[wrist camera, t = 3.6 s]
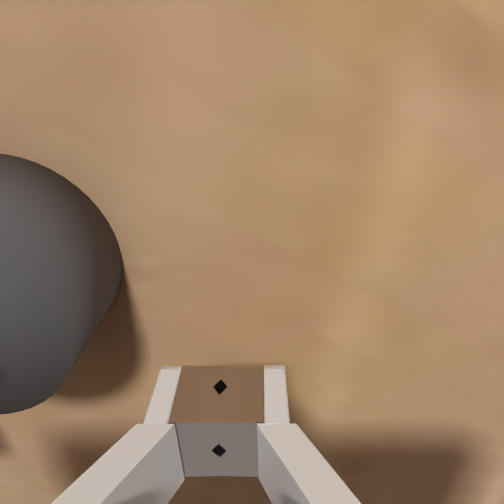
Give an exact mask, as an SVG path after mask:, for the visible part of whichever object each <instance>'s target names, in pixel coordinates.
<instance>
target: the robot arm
mask: <svg viewBox="0 0 504 504" xmlns="http://www.w3.org/2000/svg"><path fill="white" fill-rule="evenodd" d="M263 373H264V379H263ZM198 476H242V477H259V481H260V482H261V484H262V486H263V488H264V490H265V492H266V494H267V495H268V497H269V499H270V501H271V503H272V504H361V503H360V501H359V500H358V499H357V498H356V496H355V495H354V494H353V493H352V492H351V490H350V489H349V488H348V487H347V485H346V484H345V483H344V482H343V480H342V479H341V478H340V477H339V476H338V474H337V473H336V472H335V471H334V469H333V468H332V467H331V466H330V464H329V463H328V462H327V461H326V459H325V458H324V457H323V456H322V455H321V453H320V452H319V451H318V450H317V448H316V447H315V446H314V445H313V443H312V442H311V441H310V440H309V438H308V437H307V436H306V435H305V434H304V432H303V431H302V430H301V429H300V427H299V426H298V425H297V424H293V423H290V419H289V407H288V395H287V383H286V371H285V367H284V365H264V368H263V365H258V366H163V367H162V368H161V370H160V371H159V374H158V378H157V381H156V384H155V387H154V390H153V393H152V396H151V399H150V403H149V406H148V409H147V412H146V415H145V418H144V421H143V424H136V425H135V426H133V427H132V428H131V429H130V430H129V431H128V432H127V433H126V434H125V435H124V436H123V437H122V438H121V439H120V440H118V441H117V442H116V443H115V444H114V445H113V446H112V447H111V448H110V449H109V450H108V451H107V452H106V453H105V454H104V455H102V456H101V457H100V458H99V459H98V460H97V461H96V462H95V463H94V464H93V465H92V466H91V467H90V468H89V469H87V470H86V471H85V472H84V473H83V474H82V475H81V476H80V477H79V478H78V479H77V480H76V481H75V482H74V483H72V484H71V485H70V486H69V487H68V488H67V489H66V490H65V491H64V492H63V493H62V494H61V495H60V496H59V497H57V498H56V499H55V500H54V501H53V502H52V503H51V504H168V503H169V501H170V500H171V498H172V497H173V496H174V494H175V493H176V491H177V490H178V488H179V487H180V486H181V484H182V483H183V481H184V480H185V478H184V477H198Z"/></svg>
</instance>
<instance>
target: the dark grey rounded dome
mask: <svg viewBox="0 0 504 504" xmlns="http://www.w3.org/2000/svg"><path fill="white" fill-rule="evenodd" d="M122 273H123V265H122V256H121V252H120V248H119V244H118V242H117V239H116V237H115V234H114V232H113V230H112V228H111V227H110V225H109V223H108V221H107V220H106V218H105V217H104V215H103V214H102V213H101V211H100V210H99V208H98V207H97V206H96V205H95V204H94V203H93V202H92V201H91V199H90V198H89V197H88V196H87V195H85V194H84V193H83V192H82V191H81V190H80V189H79V188H78V187H76V186H75V185H74V184H72V183H71V182H70V181H68V180H67V179H66V178H64V177H63V176H61V175H59V174H57V173H56V172H54V171H52V170H51V169H49V168H46V167H44V166H42V165H40V164H38V163H35V162H32V161H29V160H26V159H23V158H20V157H15V156H10V155H5V154H0V414H9V413H14V412H19V411H23V410H26V409H29V408H31V407H34V406H36V405H38V404H40V403H42V402H44V401H45V400H46V399H48V398H49V397H50V396H52V395H53V394H54V393H55V392H56V391H57V390H58V389H59V387H60V386H61V384H62V383H63V381H64V380H65V378H66V376H67V375H68V373H69V372H70V370H71V369H72V367H73V365H74V364H75V362H76V361H77V359H78V357H79V356H80V354H81V353H82V351H83V349H84V348H85V346H86V345H87V343H88V342H89V340H90V338H91V337H92V335H93V334H94V332H95V330H96V329H97V327H98V326H99V324H100V322H101V321H102V319H103V318H104V316H105V314H106V313H107V311H108V310H109V308H110V307H111V305H112V303H113V302H114V300H115V299H116V297H117V294H118V292H119V290H120V286H121V282H122Z"/></svg>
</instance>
